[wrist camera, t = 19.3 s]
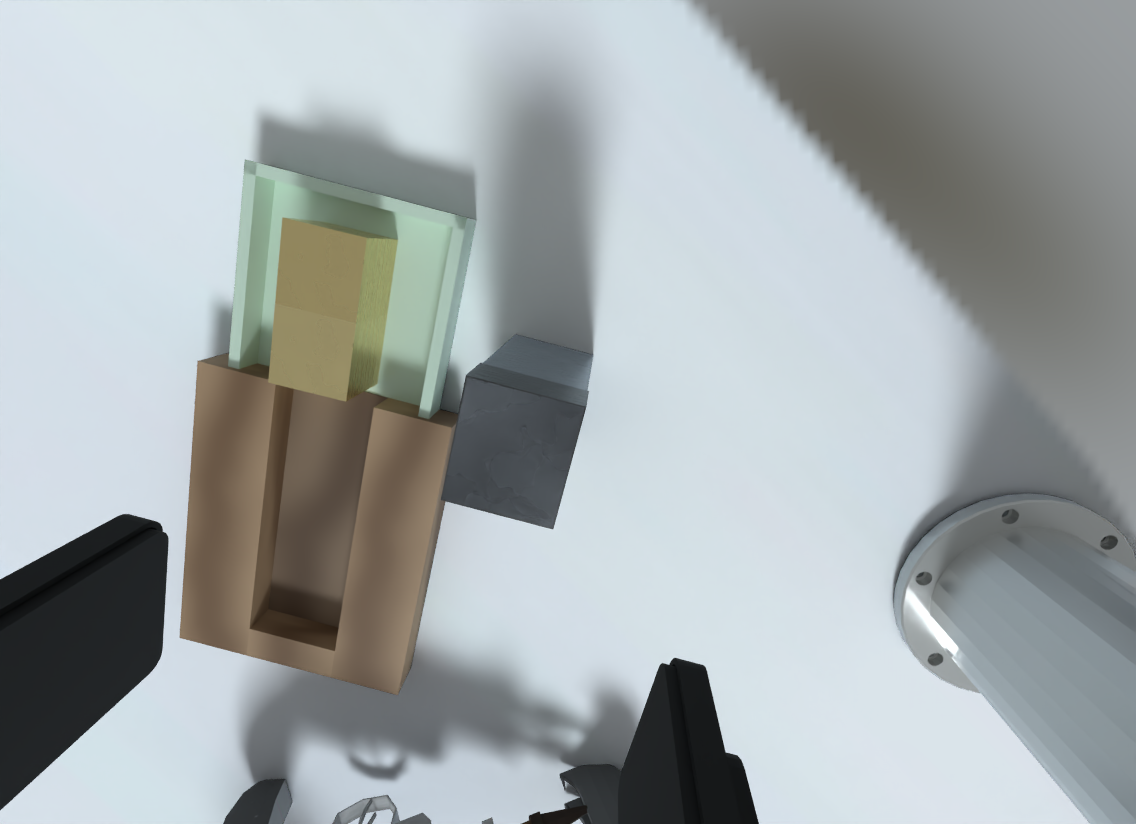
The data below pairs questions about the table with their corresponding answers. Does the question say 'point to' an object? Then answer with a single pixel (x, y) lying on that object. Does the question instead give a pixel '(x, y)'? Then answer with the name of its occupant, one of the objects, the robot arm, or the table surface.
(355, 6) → the table surface
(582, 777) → the gun
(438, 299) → the tray
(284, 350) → the olive yellow cube
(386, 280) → the tan wooden cube
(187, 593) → the slot board
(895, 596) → the robot arm
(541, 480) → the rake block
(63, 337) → the table surface
